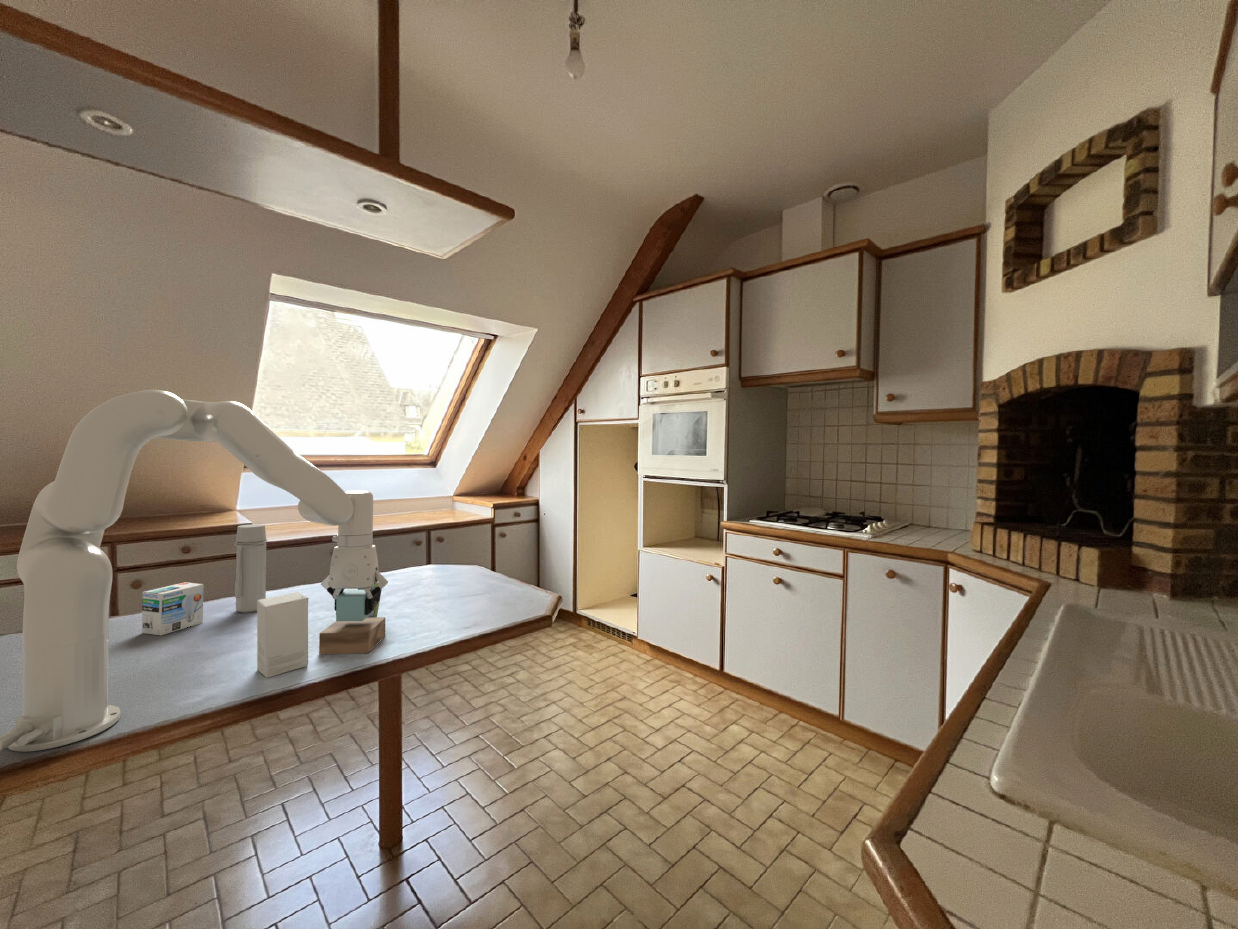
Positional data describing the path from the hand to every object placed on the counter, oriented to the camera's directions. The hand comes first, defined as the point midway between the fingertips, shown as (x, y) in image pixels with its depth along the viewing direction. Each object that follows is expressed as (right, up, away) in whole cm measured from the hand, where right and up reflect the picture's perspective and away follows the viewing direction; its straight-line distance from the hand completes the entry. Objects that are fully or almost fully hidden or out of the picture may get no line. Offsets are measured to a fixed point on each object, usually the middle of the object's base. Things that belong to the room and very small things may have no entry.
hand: (354, 612), depth 121 cm
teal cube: (0, -1, 0) cm, 1 cm away
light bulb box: (-52, -7, +8) cm, 54 cm away
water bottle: (-44, -7, +23) cm, 50 cm away
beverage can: (-5, -8, +16) cm, 18 cm away
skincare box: (-8, -8, -14) cm, 18 cm away
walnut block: (0, -8, 0) cm, 8 cm away
